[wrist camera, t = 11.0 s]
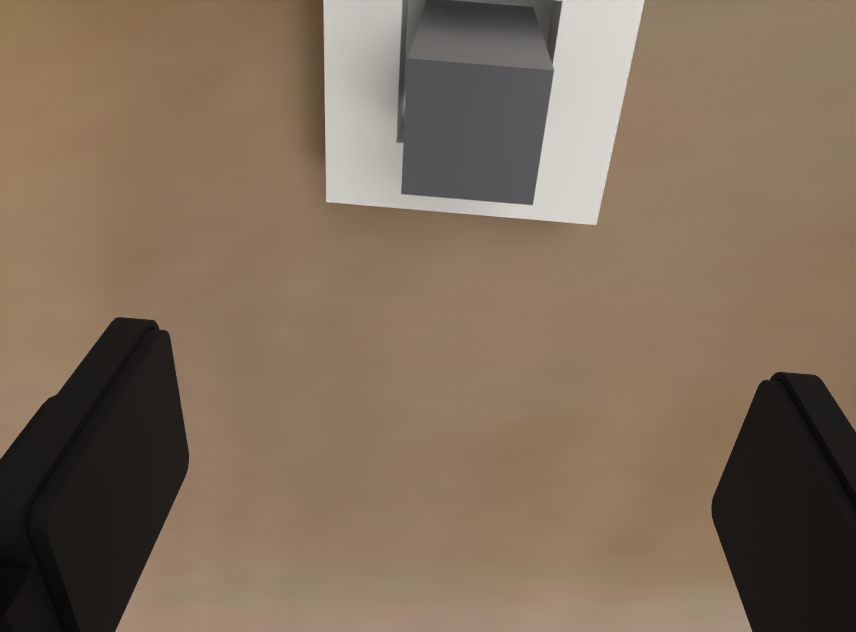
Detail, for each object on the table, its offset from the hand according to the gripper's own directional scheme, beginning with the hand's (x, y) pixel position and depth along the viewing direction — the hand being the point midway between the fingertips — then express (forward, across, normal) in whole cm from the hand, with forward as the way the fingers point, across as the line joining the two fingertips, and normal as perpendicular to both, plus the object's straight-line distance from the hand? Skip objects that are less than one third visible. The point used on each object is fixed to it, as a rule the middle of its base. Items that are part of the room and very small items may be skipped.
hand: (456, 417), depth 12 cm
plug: (+23, 0, 0) cm, 23 cm away
